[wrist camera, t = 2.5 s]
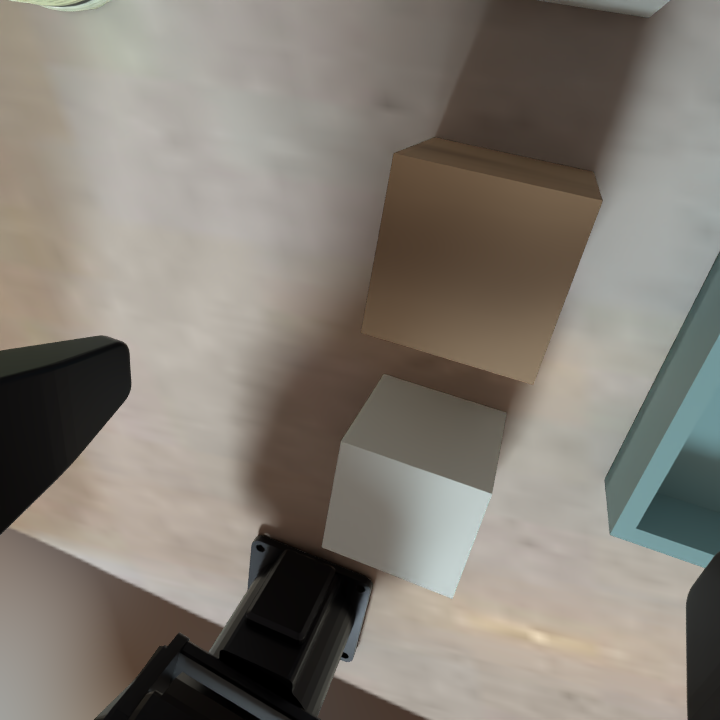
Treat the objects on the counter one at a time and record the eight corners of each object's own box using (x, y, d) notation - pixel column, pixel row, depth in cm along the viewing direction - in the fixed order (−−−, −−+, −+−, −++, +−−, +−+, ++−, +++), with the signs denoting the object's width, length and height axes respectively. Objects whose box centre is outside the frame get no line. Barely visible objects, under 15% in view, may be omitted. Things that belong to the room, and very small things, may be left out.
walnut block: (540, 318, 19) (533, 384, 15) (404, 280, 20) (360, 333, 16) (593, 171, 17) (602, 200, 12) (435, 137, 18) (393, 153, 13)
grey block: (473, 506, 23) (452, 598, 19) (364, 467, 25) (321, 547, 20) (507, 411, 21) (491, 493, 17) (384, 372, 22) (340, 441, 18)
